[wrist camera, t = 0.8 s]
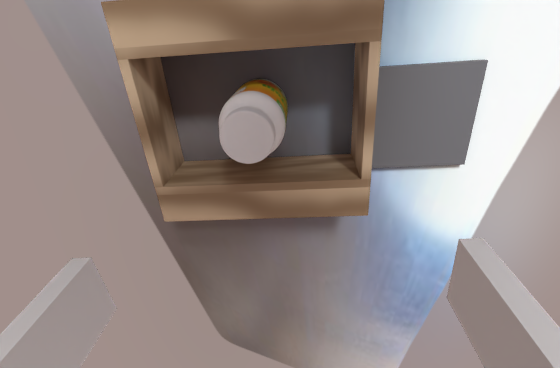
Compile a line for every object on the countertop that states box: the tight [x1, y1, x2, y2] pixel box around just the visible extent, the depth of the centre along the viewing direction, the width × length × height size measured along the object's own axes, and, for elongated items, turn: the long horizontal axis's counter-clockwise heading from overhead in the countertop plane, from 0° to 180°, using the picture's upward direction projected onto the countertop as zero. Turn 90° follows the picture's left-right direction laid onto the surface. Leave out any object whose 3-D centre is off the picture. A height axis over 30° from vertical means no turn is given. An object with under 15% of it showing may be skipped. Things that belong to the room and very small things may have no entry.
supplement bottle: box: [219, 79, 288, 164], centre depth 26 cm, size 5×5×10 cm
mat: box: [372, 60, 488, 168], centre depth 30 cm, size 10×10×1 cm
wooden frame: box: [101, 0, 384, 222], centre depth 28 cm, size 19×20×6 cm
